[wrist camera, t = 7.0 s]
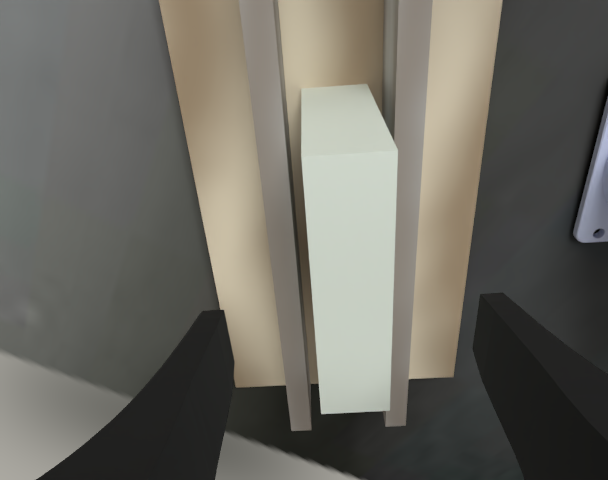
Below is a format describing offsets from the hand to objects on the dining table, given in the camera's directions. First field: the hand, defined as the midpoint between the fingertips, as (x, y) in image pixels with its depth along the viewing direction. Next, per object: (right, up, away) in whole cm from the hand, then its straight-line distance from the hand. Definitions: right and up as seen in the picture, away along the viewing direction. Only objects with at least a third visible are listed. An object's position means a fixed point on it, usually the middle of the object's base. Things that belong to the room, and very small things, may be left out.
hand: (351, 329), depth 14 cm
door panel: (0, +4, +7) cm, 8 cm away
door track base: (0, +5, +8) cm, 9 cm away
